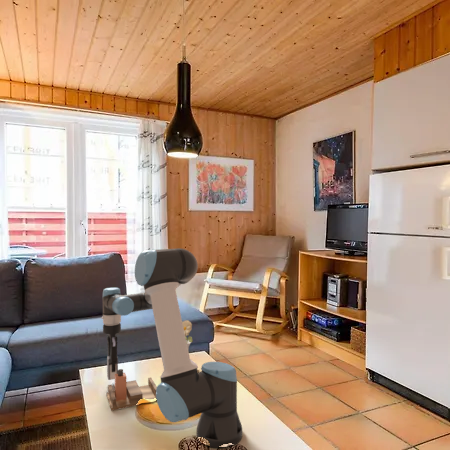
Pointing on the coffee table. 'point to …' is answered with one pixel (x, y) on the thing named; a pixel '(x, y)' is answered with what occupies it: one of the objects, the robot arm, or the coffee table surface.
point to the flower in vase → (187, 329)
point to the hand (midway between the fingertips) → (112, 376)
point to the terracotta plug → (120, 385)
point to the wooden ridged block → (132, 394)
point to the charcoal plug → (109, 367)
